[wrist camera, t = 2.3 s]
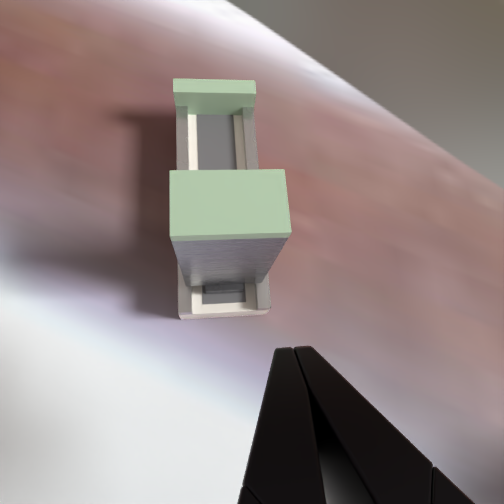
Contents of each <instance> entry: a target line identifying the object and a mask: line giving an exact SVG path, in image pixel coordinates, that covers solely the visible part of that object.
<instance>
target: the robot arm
mask: <svg viewBox="0 0 504 504" xmlns="http://www.w3.org/2000/svg"><path fill="white" fill-rule="evenodd" d="M237 504H475V503H474V502H473V501H472V500H471V499H470V498H468V497H467V496H466V495H465V494H464V493H463V492H462V491H461V490H460V489H459V488H458V487H457V486H456V485H454V484H453V483H452V482H451V481H450V480H449V479H448V478H447V477H446V476H445V475H444V474H443V473H442V472H441V471H440V470H439V469H438V468H437V467H433V464H432V462H430V461H429V460H428V459H427V458H426V457H425V456H424V455H423V454H422V453H421V452H420V451H419V450H418V449H417V448H416V447H415V446H414V445H413V444H412V443H411V442H410V441H409V440H408V439H407V438H406V437H405V436H404V435H403V434H402V433H401V432H400V431H399V430H397V429H396V428H395V427H394V426H393V425H392V424H391V423H390V422H389V421H388V420H387V419H386V418H385V417H384V416H383V415H382V414H381V413H380V412H379V411H378V410H377V409H376V408H375V407H374V406H373V405H372V404H371V403H370V402H369V401H368V400H367V399H365V398H364V397H363V396H362V395H361V394H360V393H359V392H358V391H357V390H356V389H355V388H354V387H353V386H352V385H351V384H350V383H349V382H348V381H347V380H346V379H345V378H344V377H343V376H342V375H341V374H340V373H339V372H338V371H337V370H336V369H335V368H334V367H332V366H331V365H330V364H329V363H328V362H327V361H326V360H325V359H324V358H323V357H322V356H321V355H320V354H319V353H318V352H317V351H316V350H315V349H314V348H313V347H311V346H299V347H295V348H294V349H293V348H291V347H285V348H276V349H275V351H274V355H273V359H272V363H271V368H270V372H269V376H268V380H267V384H266V388H265V392H264V397H263V401H262V405H261V409H260V413H259V417H258V421H257V425H256V430H255V434H254V438H253V442H252V446H251V450H250V454H249V458H248V463H247V467H246V471H245V475H244V479H243V487H242V488H241V490H240V495H239V499H238V503H237Z"/></svg>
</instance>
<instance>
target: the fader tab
mask: <svg viewBox="0 0 504 504" xmlns="http://www.w3.org/2000/svg"><path fill="white" fill-rule="evenodd" d="M290 234H291V224H290V215H289V206H288V198H287V189H286V180H285V171H284V169H270V170H170V238H171V241H172V245H173V248H174V251H175V254H176V257H177V260H178V263H179V266H180V269H181V272H182V275H183V279H184V282H185V285H186V286H205V290H206V294H218V293H238V292H243V289H244V288H243V284H247V283H262V282H263V280H264V278H265V276H266V275H267V273H268V271H269V270H270V268H271V266H272V265H273V263H274V261H275V259H276V258H277V256H278V254H279V253H280V251H281V249H282V248H283V246H284V244H285V242H286V241H287V239H288V237H289V236H290Z"/></svg>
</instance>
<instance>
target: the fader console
mask: <svg viewBox="0 0 504 504" xmlns="http://www.w3.org/2000/svg"><path fill="white" fill-rule="evenodd" d="M173 93H174V100H175V107H176V140H177V170H259V166H258V155H257V144H256V132H255V121H254V104H255V98H256V86H255V80H214V79H173ZM243 288H244V289H243V292H238V293H218V294H206V290H205V286H186V285H185V282H184V279H183V275H182V272H181V269H180V266H179V263H178V313H179V317H180V318H181V320H186V319H203V318H220V317H236V316H253V315H265V314H266V313H267V312H268V311H269V310H270V308H271V300H270V289H269V278H268V273H267V275H266V276H265V278H264V280H263V282H262V283H247V284H243Z"/></svg>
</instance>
